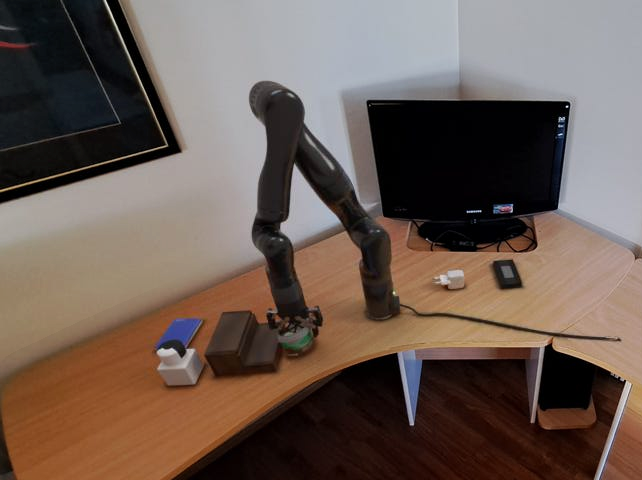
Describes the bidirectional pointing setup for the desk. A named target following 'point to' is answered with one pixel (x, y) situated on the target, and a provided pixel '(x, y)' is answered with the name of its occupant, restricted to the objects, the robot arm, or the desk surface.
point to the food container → (296, 339)
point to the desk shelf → (242, 345)
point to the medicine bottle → (178, 363)
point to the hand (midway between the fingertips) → (300, 336)
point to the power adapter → (451, 279)
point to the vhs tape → (507, 274)
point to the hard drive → (181, 331)
